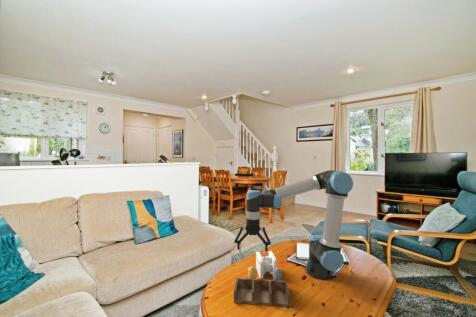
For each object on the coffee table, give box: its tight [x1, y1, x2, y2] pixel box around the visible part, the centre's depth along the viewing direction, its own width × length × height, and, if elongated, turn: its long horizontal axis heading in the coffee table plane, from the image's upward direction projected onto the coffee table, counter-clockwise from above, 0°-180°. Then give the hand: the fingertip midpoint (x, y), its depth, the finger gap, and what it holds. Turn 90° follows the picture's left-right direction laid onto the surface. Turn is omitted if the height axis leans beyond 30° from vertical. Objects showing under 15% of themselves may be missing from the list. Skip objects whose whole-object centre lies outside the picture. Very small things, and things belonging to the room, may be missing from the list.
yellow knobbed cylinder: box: [247, 265, 257, 279], centre depth 122 cm, size 5×5×10 cm
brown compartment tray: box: [233, 277, 291, 308], centre depth 112 cm, size 27×12×6 cm, turn 85°
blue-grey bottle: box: [272, 267, 283, 281], centre depth 121 cm, size 5×5×10 cm
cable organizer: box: [255, 250, 278, 279], centre depth 135 cm, size 15×11×12 cm
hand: (252, 256), depth 122 cm, fingers open, 13 cm apart
